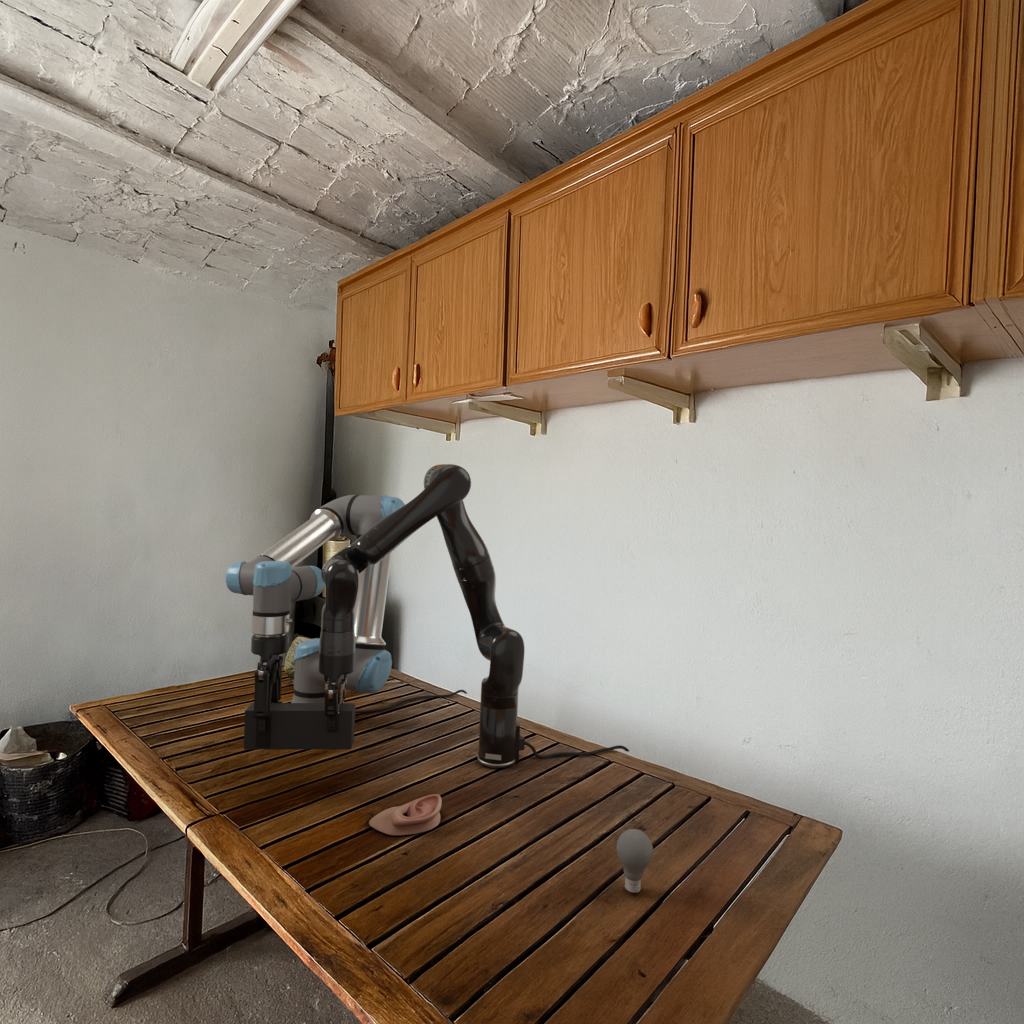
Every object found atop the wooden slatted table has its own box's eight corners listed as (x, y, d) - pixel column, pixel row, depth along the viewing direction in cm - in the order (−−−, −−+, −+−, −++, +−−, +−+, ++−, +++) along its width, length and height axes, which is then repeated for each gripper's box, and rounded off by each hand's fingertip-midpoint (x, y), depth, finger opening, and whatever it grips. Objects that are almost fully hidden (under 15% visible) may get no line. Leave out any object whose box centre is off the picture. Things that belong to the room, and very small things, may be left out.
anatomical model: (362, 810, 120) (386, 784, 132) (361, 831, 121) (385, 803, 132) (429, 820, 118) (447, 793, 129) (428, 841, 118) (446, 812, 129)
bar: (243, 749, 133) (244, 710, 133) (250, 740, 138) (251, 702, 138) (350, 749, 135) (352, 710, 135) (354, 740, 140) (355, 703, 140)
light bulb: (610, 879, 108) (613, 822, 108) (644, 879, 109) (647, 822, 109) (619, 902, 102) (622, 840, 102) (655, 901, 103) (658, 840, 103)
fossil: (280, 681, 212) (281, 637, 212) (331, 673, 224) (333, 631, 224) (290, 688, 205) (292, 642, 205) (343, 679, 218) (345, 636, 217)
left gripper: (277, 644, 127) (273, 759, 127) (298, 625, 145) (294, 726, 145) (238, 643, 126) (234, 759, 126) (264, 625, 144) (260, 726, 144)
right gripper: (350, 658, 130) (347, 740, 131) (359, 642, 145) (356, 716, 145) (312, 658, 129) (309, 740, 130) (325, 642, 144) (323, 716, 144)
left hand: (266, 741), depth 136 cm, fingers closed on bar, 5 cm apart
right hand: (334, 727), depth 137 cm, fingers closed on bar, 5 cm apart
